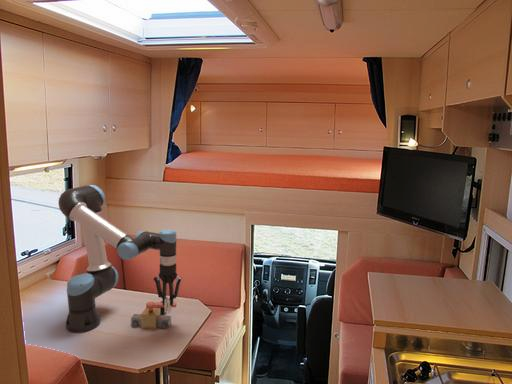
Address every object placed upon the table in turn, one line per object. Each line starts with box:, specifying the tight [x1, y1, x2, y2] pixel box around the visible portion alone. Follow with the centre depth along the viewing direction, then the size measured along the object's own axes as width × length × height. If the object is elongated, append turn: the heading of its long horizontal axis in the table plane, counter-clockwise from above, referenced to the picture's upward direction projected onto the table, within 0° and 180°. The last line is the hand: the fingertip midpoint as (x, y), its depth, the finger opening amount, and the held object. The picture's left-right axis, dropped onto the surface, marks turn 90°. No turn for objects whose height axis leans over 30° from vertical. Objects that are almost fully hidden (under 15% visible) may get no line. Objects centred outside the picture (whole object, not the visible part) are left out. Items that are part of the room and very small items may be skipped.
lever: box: [145, 301, 178, 309], centre depth 191 cm, size 14×4×2 cm, turn 93°
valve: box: [130, 307, 172, 330], centre depth 192 cm, size 18×7×9 cm, turn 86°
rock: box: [154, 301, 166, 315], centre depth 201 cm, size 9×10×6 cm
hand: (167, 311), depth 189 cm, fingers closed
